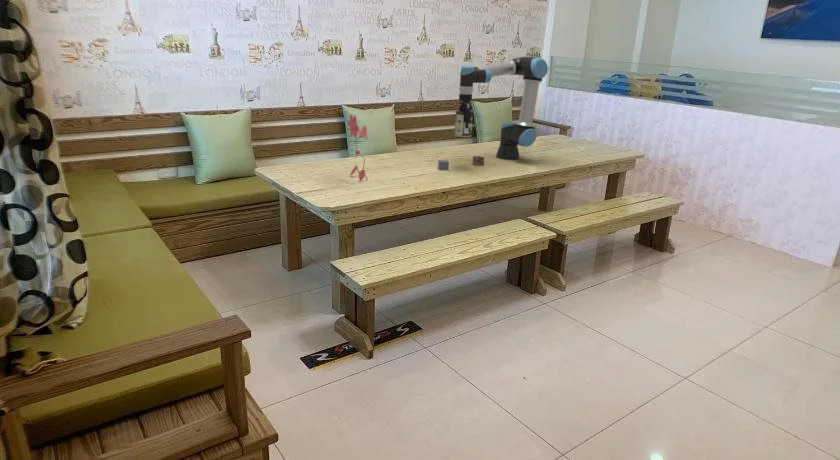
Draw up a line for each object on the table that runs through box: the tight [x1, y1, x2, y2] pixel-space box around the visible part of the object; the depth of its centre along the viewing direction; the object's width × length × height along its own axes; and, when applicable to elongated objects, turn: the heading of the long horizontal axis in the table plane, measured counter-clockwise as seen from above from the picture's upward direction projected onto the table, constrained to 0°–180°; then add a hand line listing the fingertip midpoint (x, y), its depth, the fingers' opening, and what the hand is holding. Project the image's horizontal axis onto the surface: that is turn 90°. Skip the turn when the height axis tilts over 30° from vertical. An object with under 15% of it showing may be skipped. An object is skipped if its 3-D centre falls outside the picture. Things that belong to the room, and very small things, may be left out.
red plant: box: [341, 113, 369, 185], centre depth 289 cm, size 15×26×35 cm, turn 29°
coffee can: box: [454, 110, 474, 138], centre depth 322 cm, size 10×10×14 cm
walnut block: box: [472, 155, 485, 167], centre depth 339 cm, size 5×5×5 cm
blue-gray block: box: [437, 159, 450, 171], centre depth 324 cm, size 5×5×5 cm
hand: (463, 131), depth 324 cm, fingers closed on coffee can, 10 cm apart
